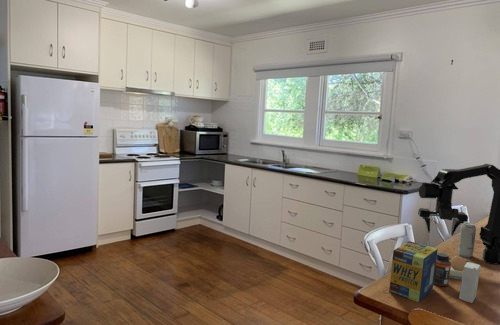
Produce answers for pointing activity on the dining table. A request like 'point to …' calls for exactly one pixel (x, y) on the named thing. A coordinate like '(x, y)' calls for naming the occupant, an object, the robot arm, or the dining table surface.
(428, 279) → the protein box
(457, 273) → the tray
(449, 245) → the dining table surface
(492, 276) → the dining table surface
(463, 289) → the skincare box
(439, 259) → the supplement bottle
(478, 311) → the dining table surface
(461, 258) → the ball
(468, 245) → the energy drink can
